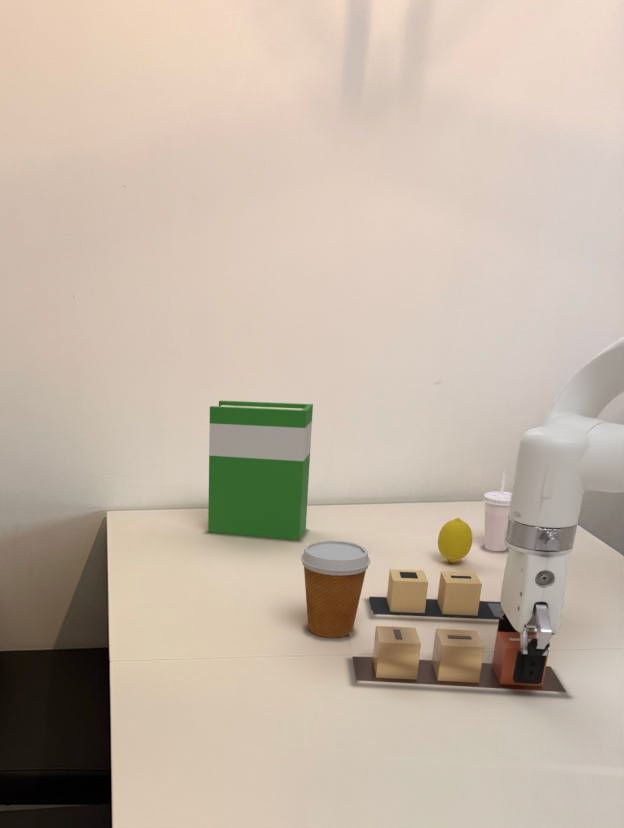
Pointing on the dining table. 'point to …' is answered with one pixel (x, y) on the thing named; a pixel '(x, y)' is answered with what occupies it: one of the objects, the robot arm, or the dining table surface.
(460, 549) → the lemon
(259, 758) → the dining table surface
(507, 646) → the block
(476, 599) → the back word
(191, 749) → the dining table surface
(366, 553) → the disposable coffee cup
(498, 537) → the smoothie
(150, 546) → the dining table surface
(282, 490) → the hardback book
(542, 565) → the robot arm
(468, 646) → the front word
